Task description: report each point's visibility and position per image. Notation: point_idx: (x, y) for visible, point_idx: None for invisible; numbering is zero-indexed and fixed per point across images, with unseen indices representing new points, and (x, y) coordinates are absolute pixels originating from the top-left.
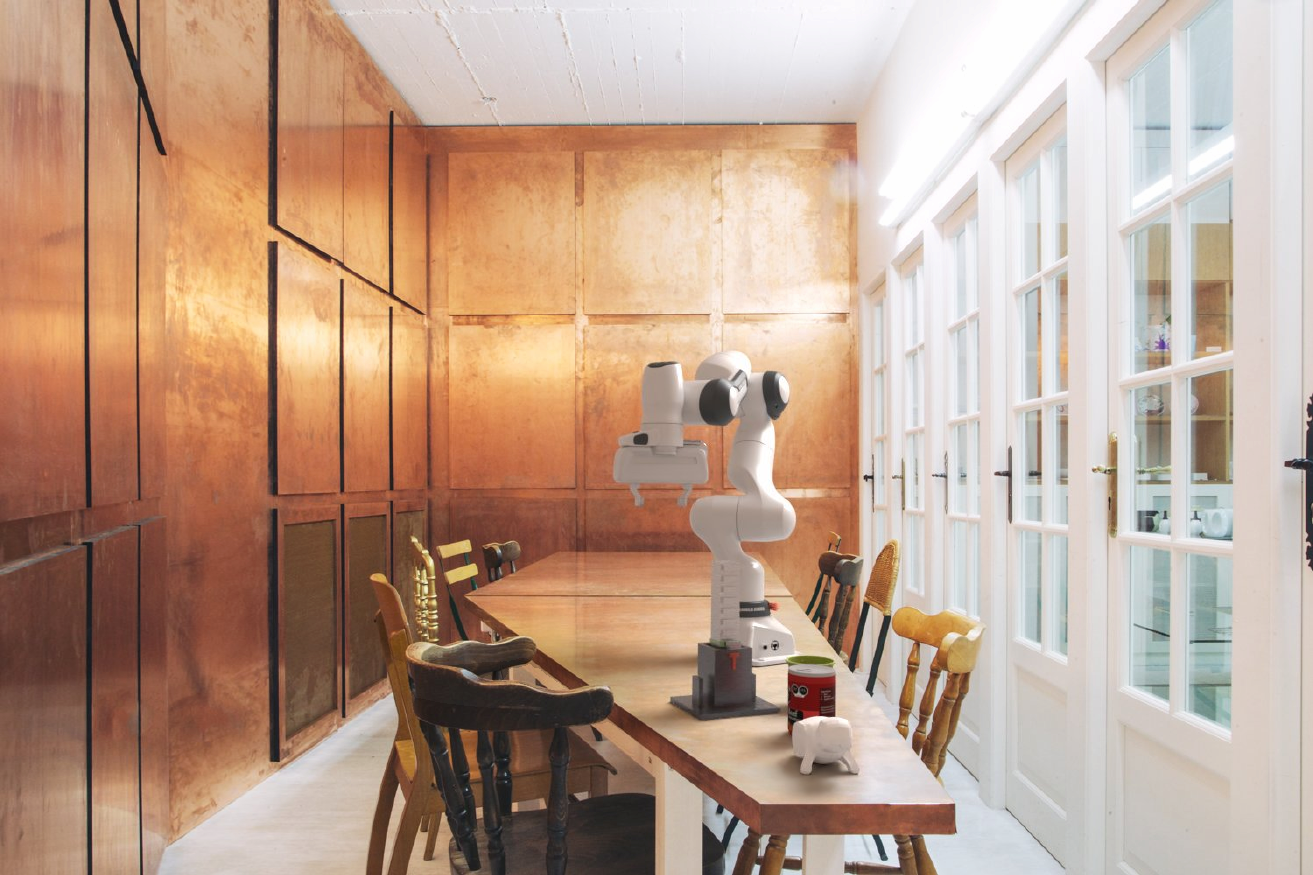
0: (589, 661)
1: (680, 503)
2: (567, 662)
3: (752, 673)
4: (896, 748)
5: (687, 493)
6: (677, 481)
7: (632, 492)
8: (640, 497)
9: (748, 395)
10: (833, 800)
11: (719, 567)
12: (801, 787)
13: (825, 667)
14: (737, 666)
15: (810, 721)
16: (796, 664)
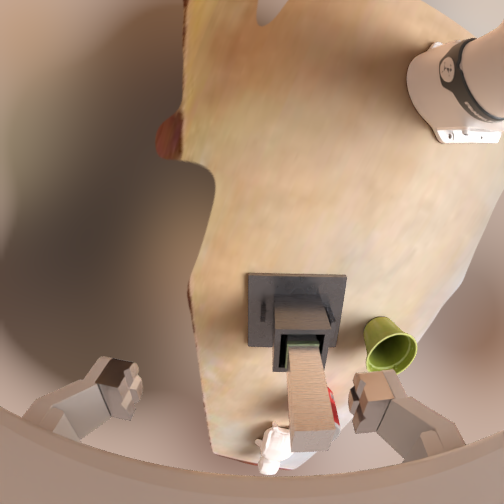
0: (231, 19)
1: (349, 409)
2: (199, 20)
3: (333, 332)
4: (343, 424)
5: (397, 447)
6: None
7: (60, 398)
8: (110, 415)
9: None
10: (248, 459)
11: (290, 443)
12: (243, 449)
13: (337, 431)
14: None
15: (269, 453)
16: (366, 367)
